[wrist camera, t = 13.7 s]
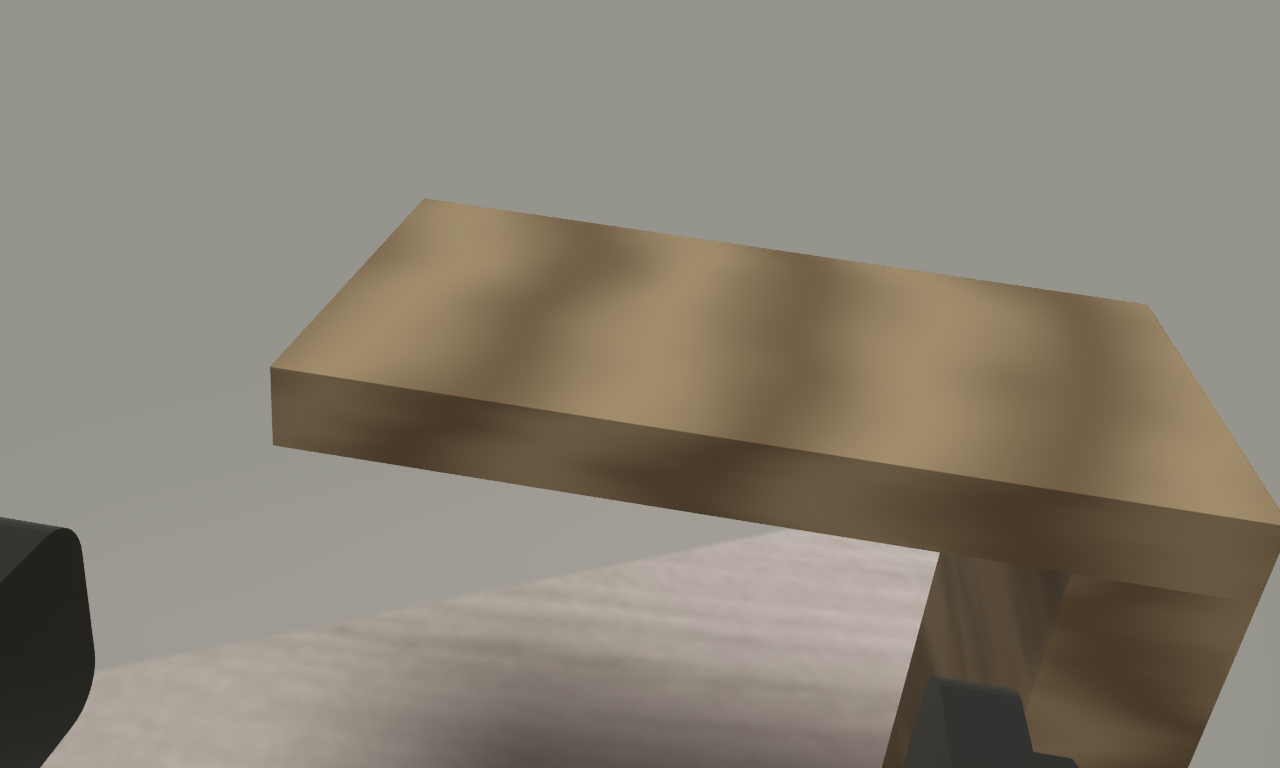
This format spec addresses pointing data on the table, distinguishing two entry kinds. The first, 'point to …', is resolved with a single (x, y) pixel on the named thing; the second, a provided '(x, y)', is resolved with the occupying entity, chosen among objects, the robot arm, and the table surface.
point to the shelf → (832, 441)
